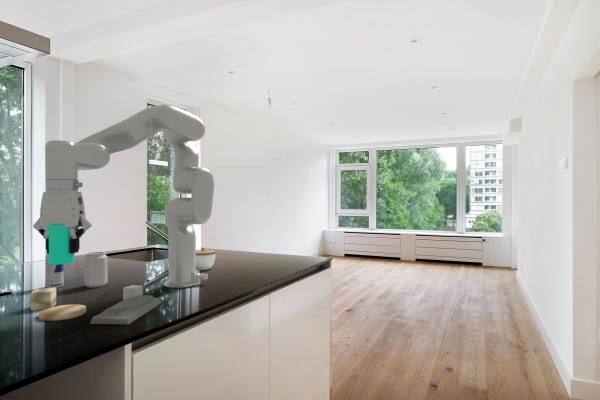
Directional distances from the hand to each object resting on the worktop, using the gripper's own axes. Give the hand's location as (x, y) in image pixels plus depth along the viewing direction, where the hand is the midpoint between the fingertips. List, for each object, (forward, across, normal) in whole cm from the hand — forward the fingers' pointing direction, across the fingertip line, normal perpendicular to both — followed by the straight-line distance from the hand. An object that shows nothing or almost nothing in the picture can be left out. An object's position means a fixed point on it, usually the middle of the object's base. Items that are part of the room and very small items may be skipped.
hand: (62, 252), depth 106 cm
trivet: (+17, 0, 0) cm, 17 cm away
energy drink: (+17, +22, -34) cm, 44 cm away
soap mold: (+18, -17, -1) cm, 25 cm away
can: (+17, +8, -35) cm, 40 cm away
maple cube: (+17, +10, -8) cm, 21 cm away
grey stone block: (+17, -13, -15) cm, 26 cm away
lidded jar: (+17, -24, -66) cm, 72 cm away
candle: (+3, 0, 0) cm, 3 cm away
